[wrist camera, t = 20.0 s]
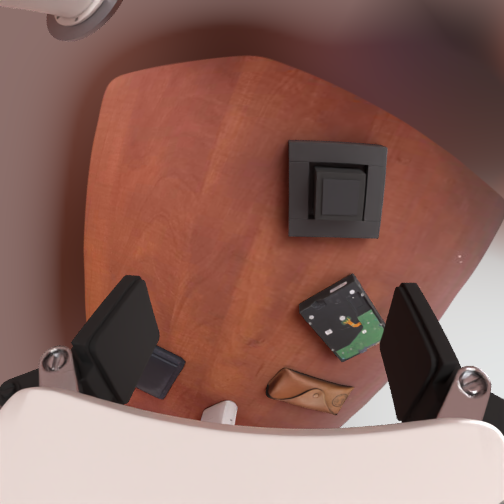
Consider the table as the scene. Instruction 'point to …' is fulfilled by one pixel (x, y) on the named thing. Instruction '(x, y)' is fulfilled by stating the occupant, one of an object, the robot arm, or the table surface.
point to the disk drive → (344, 318)
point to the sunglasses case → (307, 391)
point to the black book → (160, 372)
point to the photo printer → (221, 413)
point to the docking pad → (335, 155)
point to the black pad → (338, 193)
